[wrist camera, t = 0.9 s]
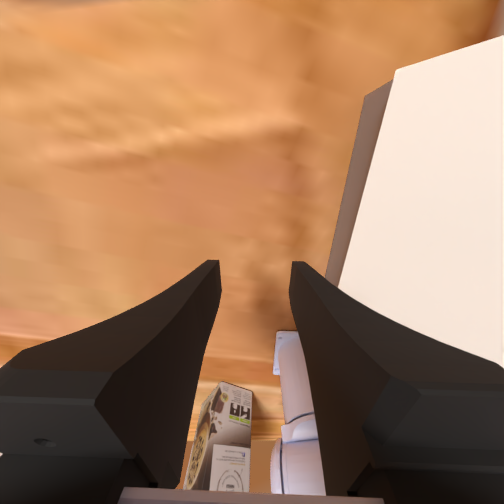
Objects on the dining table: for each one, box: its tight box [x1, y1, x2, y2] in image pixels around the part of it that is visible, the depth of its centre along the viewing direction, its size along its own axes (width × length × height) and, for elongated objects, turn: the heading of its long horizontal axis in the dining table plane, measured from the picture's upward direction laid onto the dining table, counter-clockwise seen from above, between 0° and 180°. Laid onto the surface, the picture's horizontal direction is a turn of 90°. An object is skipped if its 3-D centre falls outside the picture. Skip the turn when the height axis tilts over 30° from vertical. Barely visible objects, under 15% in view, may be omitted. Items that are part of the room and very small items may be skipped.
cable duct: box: [325, 79, 394, 288], centre depth 16 cm, size 20×10×4 cm, turn 0°
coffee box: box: [183, 382, 252, 492], centre depth 26 cm, size 9×6×16 cm
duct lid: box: [338, 35, 504, 368], centre depth 11 cm, size 20×10×1 cm
